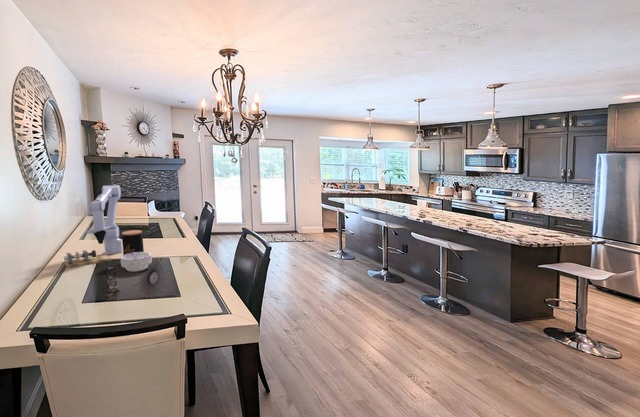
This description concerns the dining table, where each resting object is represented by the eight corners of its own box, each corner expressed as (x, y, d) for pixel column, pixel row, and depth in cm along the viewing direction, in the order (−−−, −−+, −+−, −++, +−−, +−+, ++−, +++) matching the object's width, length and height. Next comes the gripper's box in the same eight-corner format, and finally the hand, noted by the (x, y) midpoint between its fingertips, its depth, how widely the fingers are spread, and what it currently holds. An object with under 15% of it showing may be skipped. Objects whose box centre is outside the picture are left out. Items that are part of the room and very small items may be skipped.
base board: (106, 257, 242) (106, 254, 242) (111, 260, 233) (111, 258, 233) (64, 263, 228) (64, 261, 228) (67, 268, 219) (67, 265, 219)
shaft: (95, 256, 234) (94, 249, 234) (96, 257, 231) (95, 250, 231) (64, 261, 224) (63, 254, 224) (65, 262, 221) (64, 255, 221)
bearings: (86, 258, 232) (85, 250, 232) (88, 260, 228) (87, 252, 227) (67, 261, 226) (66, 253, 226) (69, 263, 222) (68, 254, 221)
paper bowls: (140, 274, 205) (139, 259, 204) (115, 272, 208) (113, 258, 207) (158, 266, 220) (157, 252, 219) (133, 264, 223) (132, 251, 222)
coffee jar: (120, 263, 226) (117, 232, 224) (136, 259, 235) (133, 229, 233) (132, 265, 221) (129, 234, 219) (148, 261, 230) (146, 231, 228)
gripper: (104, 219, 243) (106, 240, 245) (82, 222, 230) (85, 245, 232) (112, 219, 241) (114, 241, 243) (91, 223, 227) (93, 246, 229)
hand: (100, 243), depth 237 cm, fingers closed
